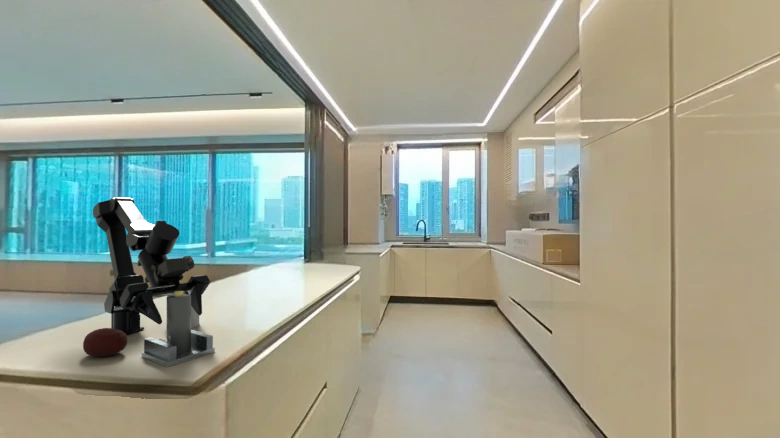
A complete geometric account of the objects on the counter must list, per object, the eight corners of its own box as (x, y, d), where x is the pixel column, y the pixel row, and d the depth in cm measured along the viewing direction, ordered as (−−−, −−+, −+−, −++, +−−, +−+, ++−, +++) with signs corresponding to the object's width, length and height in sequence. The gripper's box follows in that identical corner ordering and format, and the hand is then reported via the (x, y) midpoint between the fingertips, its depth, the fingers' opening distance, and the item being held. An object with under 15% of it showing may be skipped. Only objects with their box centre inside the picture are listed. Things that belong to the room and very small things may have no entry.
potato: (102, 348, 92) (102, 323, 92) (137, 351, 90) (137, 325, 90) (71, 359, 84) (71, 332, 84) (108, 362, 82) (108, 335, 82)
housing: (141, 356, 86) (141, 339, 86) (189, 343, 95) (189, 327, 95) (166, 367, 80) (166, 348, 80) (214, 351, 89) (214, 335, 89)
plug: (147, 345, 90) (147, 289, 90) (169, 340, 95) (169, 285, 95) (173, 355, 84) (173, 294, 84) (195, 348, 88) (195, 290, 88)
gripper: (125, 248, 82) (150, 304, 76) (206, 243, 98) (232, 290, 92) (109, 280, 86) (132, 337, 80) (189, 271, 102) (213, 317, 96)
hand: (181, 318), depth 87 cm, fingers open, 9 cm apart
